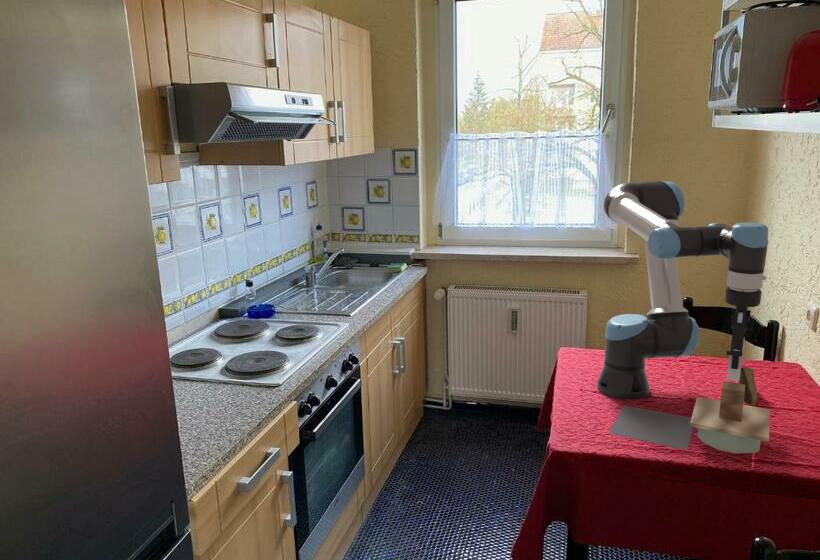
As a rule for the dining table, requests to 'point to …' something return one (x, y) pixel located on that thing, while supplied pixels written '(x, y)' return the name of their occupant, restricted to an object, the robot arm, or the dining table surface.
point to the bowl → (729, 442)
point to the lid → (731, 414)
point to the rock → (748, 385)
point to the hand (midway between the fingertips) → (734, 370)
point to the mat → (653, 427)
